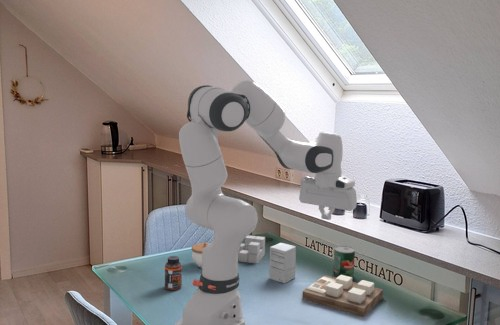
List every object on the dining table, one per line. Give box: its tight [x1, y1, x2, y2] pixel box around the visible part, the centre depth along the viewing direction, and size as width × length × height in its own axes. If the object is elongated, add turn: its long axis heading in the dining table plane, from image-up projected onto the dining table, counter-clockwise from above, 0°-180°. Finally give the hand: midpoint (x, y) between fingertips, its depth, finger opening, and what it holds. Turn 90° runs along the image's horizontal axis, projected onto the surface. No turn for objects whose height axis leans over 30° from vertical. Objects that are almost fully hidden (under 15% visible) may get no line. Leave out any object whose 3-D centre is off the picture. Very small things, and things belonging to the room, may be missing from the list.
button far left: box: [336, 275, 353, 290], centre depth 172 cm, size 4×4×3 cm
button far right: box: [357, 279, 375, 295], centre depth 168 cm, size 4×4×3 cm
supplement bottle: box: [164, 255, 183, 291], centre depth 174 cm, size 6×6×11 cm
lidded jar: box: [191, 242, 210, 269], centre depth 197 cm, size 11×11×9 cm
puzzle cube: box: [238, 234, 266, 264], centre depth 207 cm, size 12×12×8 cm
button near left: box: [326, 282, 343, 297], centre depth 166 cm, size 4×4×3 cm
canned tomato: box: [332, 245, 356, 280], centre depth 188 cm, size 8×8×11 cm
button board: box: [301, 274, 384, 318], centre depth 169 cm, size 18×22×3 cm
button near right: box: [348, 287, 366, 304], centre depth 162 cm, size 4×4×3 cm
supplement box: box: [268, 242, 297, 284], centre depth 185 cm, size 7×7×13 cm
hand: (326, 218), depth 169 cm, fingers closed
